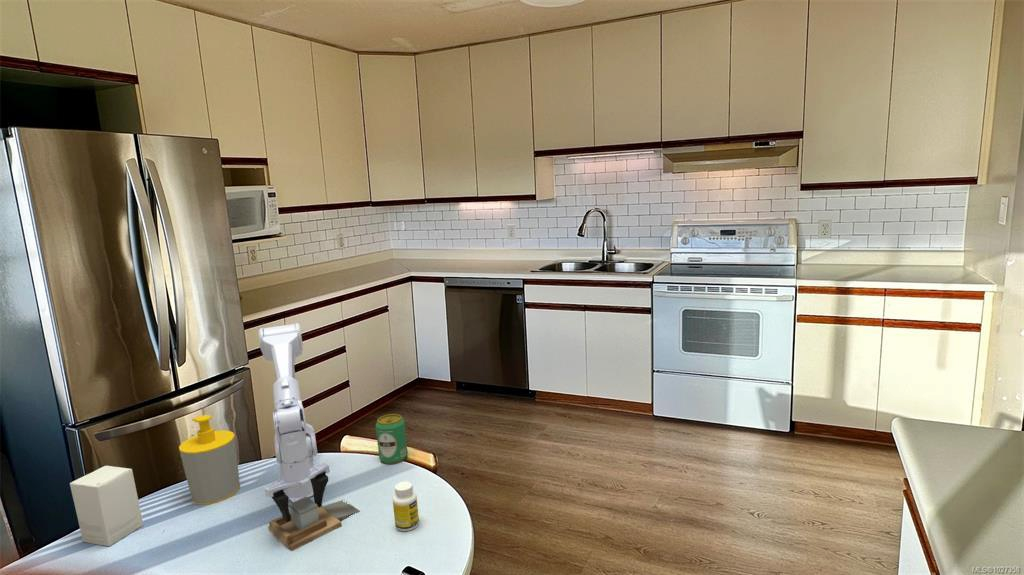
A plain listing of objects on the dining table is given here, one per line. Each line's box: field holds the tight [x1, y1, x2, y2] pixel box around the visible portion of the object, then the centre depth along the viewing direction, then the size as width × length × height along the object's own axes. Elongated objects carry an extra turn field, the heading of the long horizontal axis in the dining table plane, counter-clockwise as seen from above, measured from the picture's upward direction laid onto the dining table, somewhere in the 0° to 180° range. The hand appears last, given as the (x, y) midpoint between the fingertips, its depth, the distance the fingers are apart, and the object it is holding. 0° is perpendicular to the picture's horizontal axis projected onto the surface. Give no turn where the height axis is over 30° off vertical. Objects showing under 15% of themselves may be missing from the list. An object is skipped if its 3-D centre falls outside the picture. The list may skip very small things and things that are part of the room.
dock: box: [268, 499, 361, 552], centre depth 136 cm, size 12×18×3 cm, turn 135°
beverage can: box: [375, 413, 408, 465], centre depth 165 cm, size 8×8×12 cm
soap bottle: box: [178, 414, 241, 506], centre depth 151 cm, size 13×13×21 cm
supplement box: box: [69, 465, 144, 547], centre depth 136 cm, size 9×9×15 cm
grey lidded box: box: [288, 497, 319, 530], centre depth 133 cm, size 6×4×5 cm
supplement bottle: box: [392, 481, 420, 532], centre depth 132 cm, size 5×5×10 cm
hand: (303, 512), depth 133 cm, fingers open, 7 cm apart
